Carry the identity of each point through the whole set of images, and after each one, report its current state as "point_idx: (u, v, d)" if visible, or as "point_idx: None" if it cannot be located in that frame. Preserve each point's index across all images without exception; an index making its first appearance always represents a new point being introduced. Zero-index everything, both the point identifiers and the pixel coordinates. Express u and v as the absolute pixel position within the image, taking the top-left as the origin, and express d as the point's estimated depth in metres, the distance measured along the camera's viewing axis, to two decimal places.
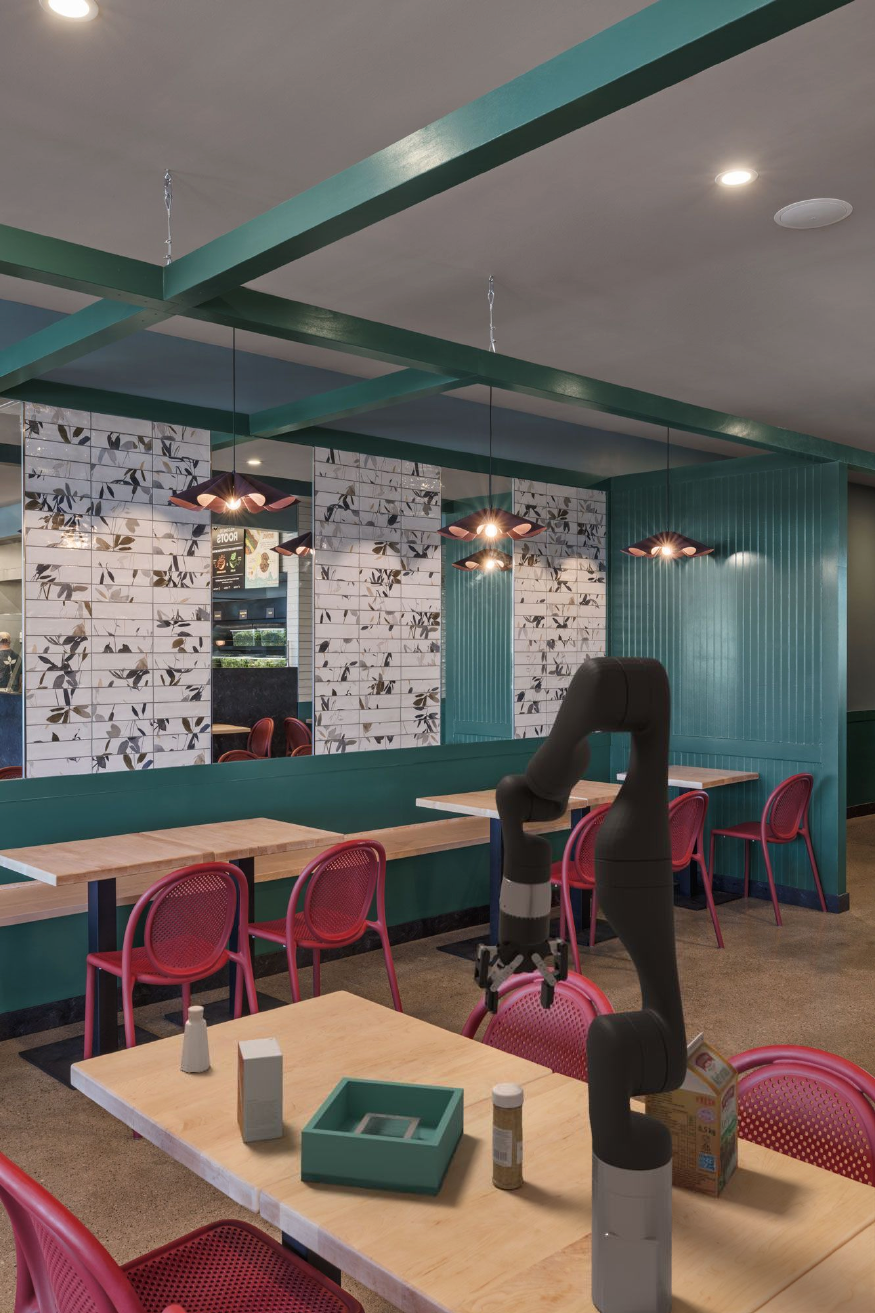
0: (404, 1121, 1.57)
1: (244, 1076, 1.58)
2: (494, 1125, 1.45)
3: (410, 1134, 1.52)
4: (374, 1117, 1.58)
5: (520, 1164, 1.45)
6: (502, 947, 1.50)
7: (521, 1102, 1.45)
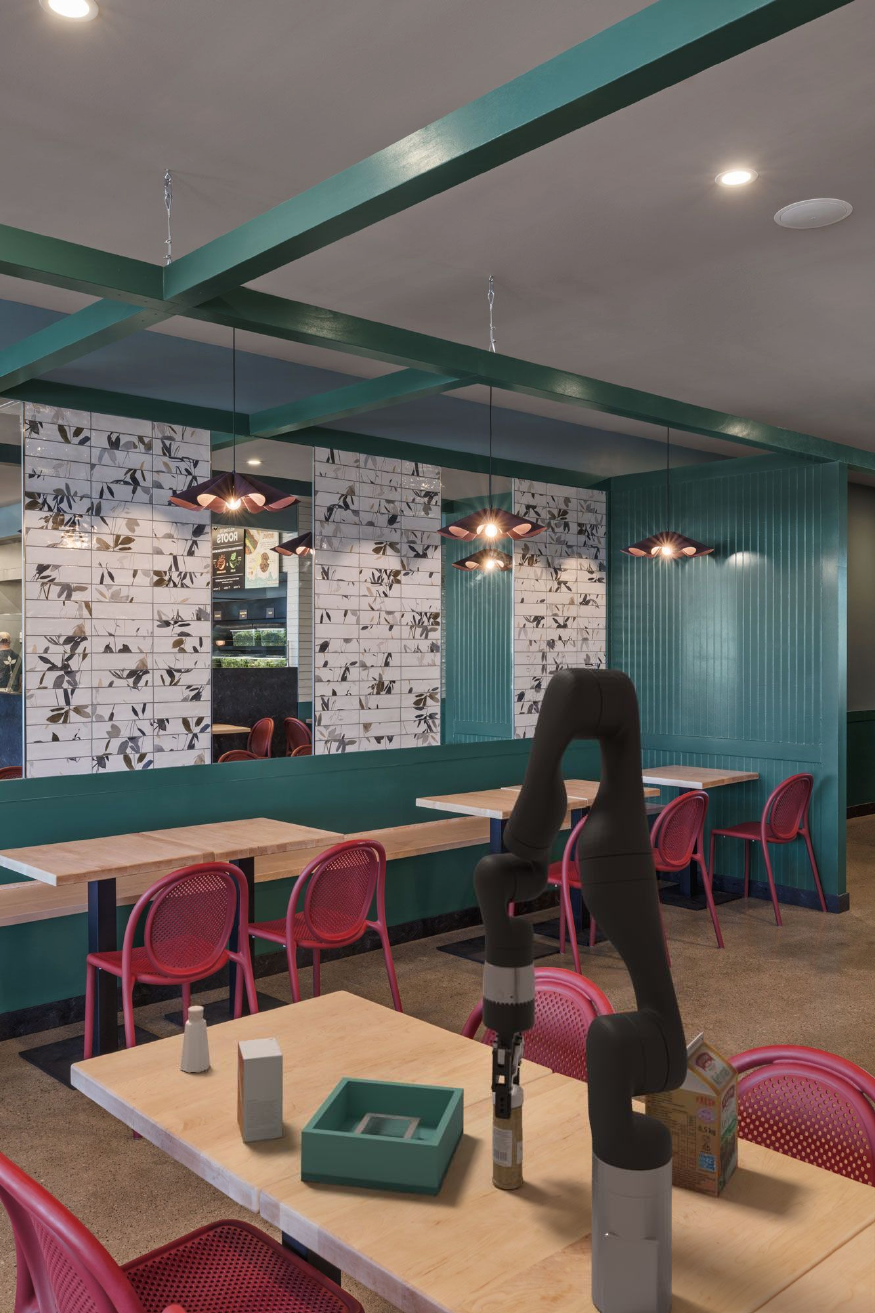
0: (404, 1121, 1.57)
1: (244, 1076, 1.58)
2: (494, 1125, 1.45)
3: (410, 1134, 1.52)
4: (374, 1117, 1.58)
5: (520, 1164, 1.45)
6: (511, 1042, 1.43)
7: (521, 1102, 1.45)
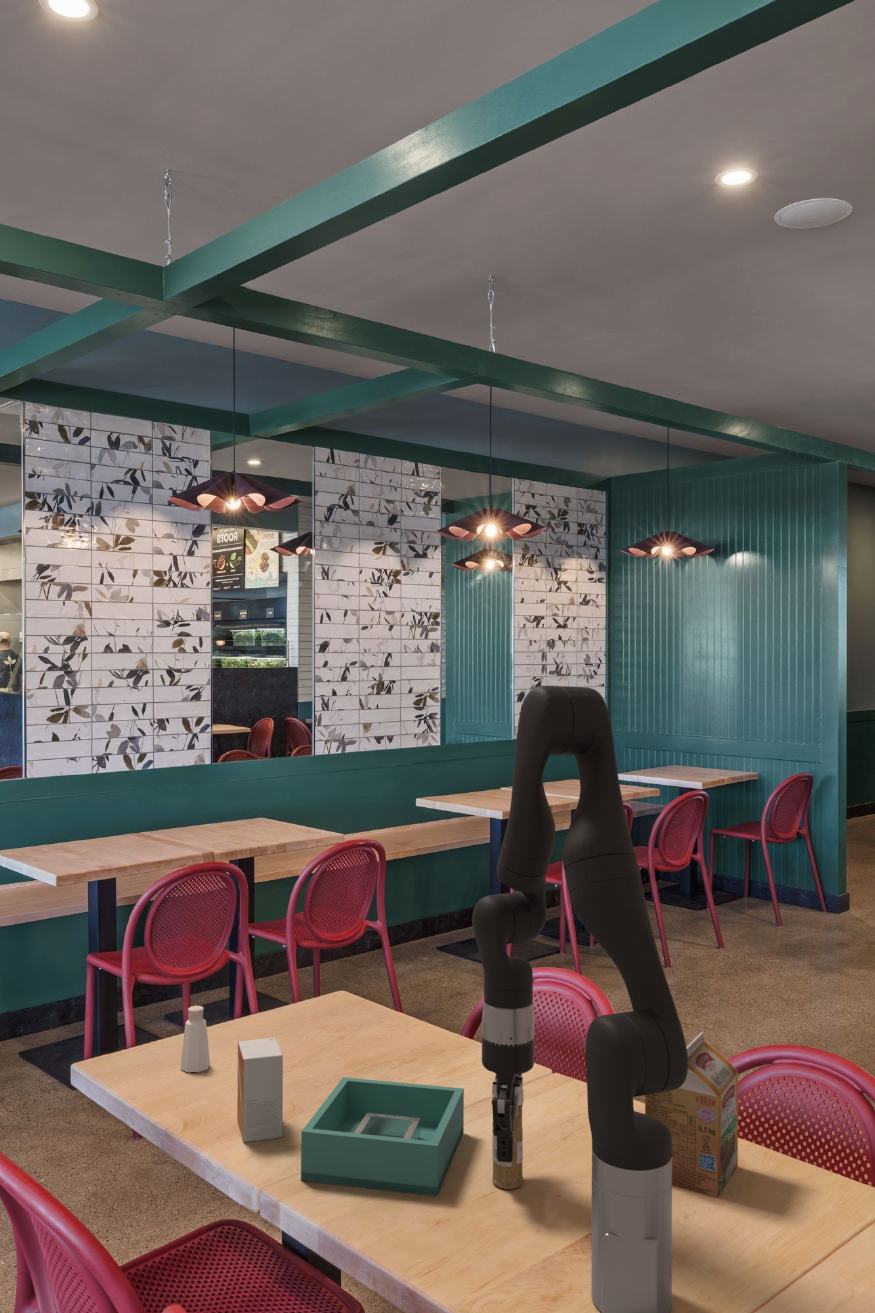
0: (404, 1121, 1.57)
1: (244, 1076, 1.58)
2: None
3: (410, 1134, 1.52)
4: (374, 1117, 1.58)
5: (520, 1164, 1.45)
6: (510, 1086, 1.42)
7: (521, 1102, 1.45)
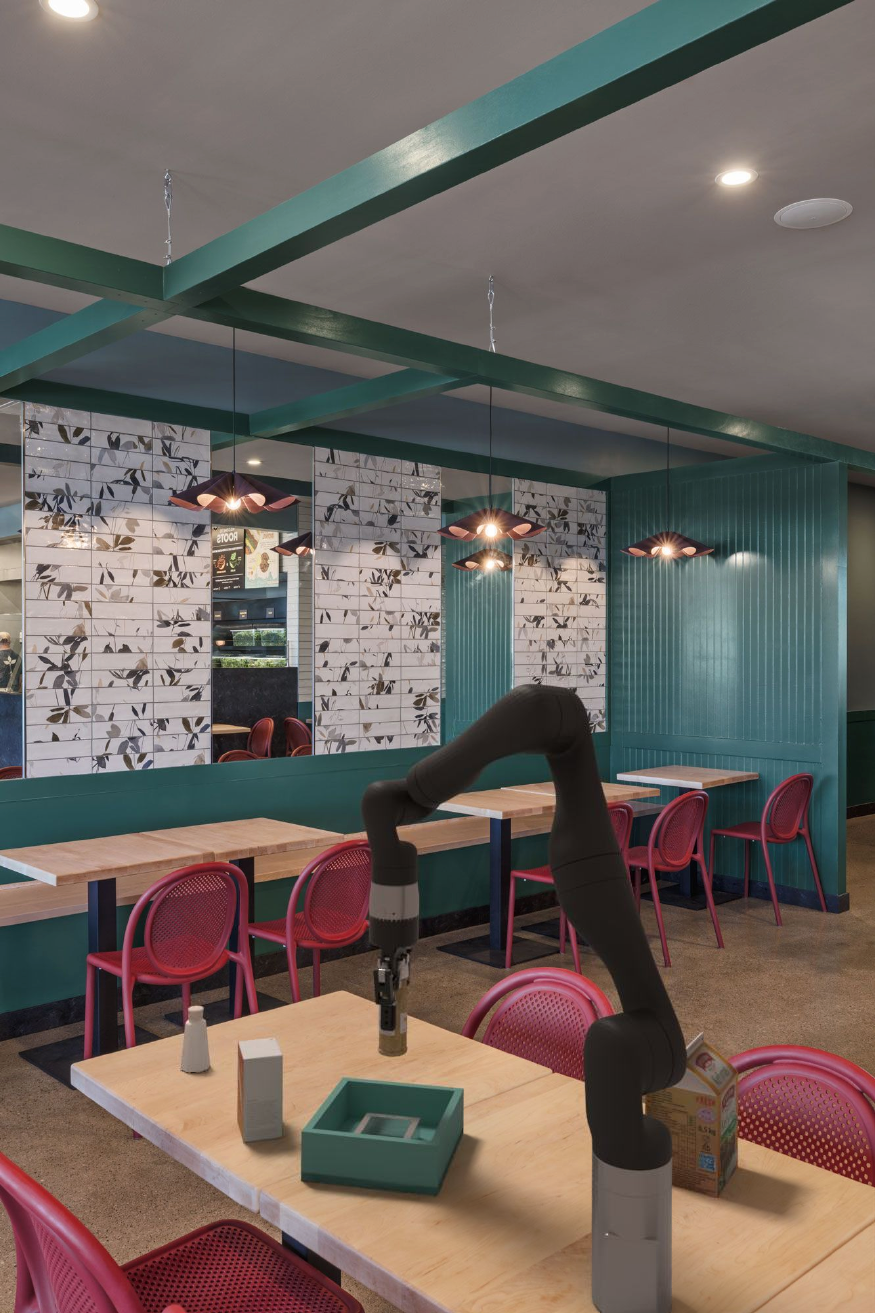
0: (404, 1121, 1.57)
1: (244, 1076, 1.58)
2: None
3: (410, 1134, 1.52)
4: (374, 1117, 1.58)
5: (404, 1034, 1.53)
6: (392, 958, 1.50)
7: (405, 975, 1.53)
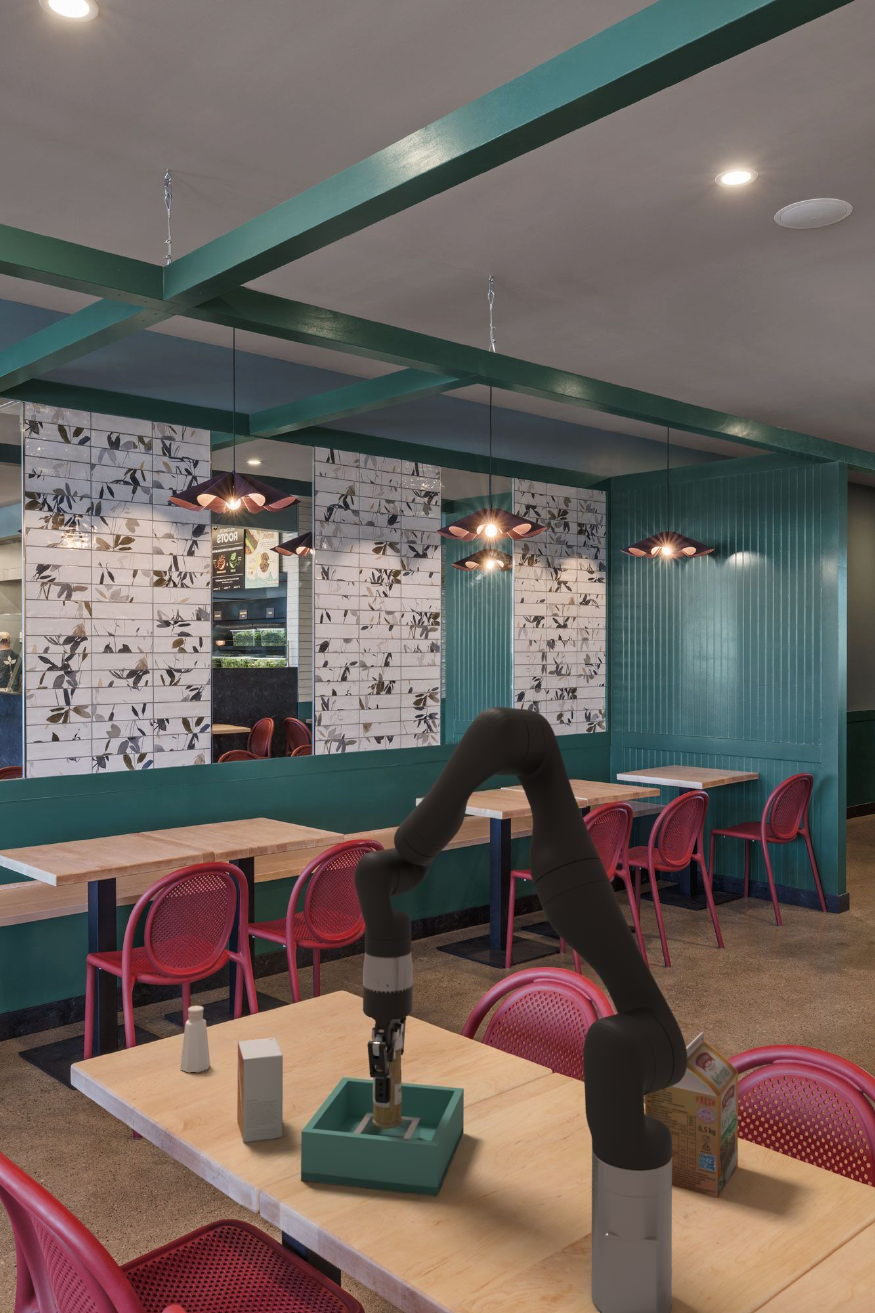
0: (404, 1121, 1.57)
1: (244, 1076, 1.58)
2: None
3: (410, 1134, 1.52)
4: None
5: (398, 1105, 1.53)
6: (387, 1030, 1.50)
7: (399, 1046, 1.53)
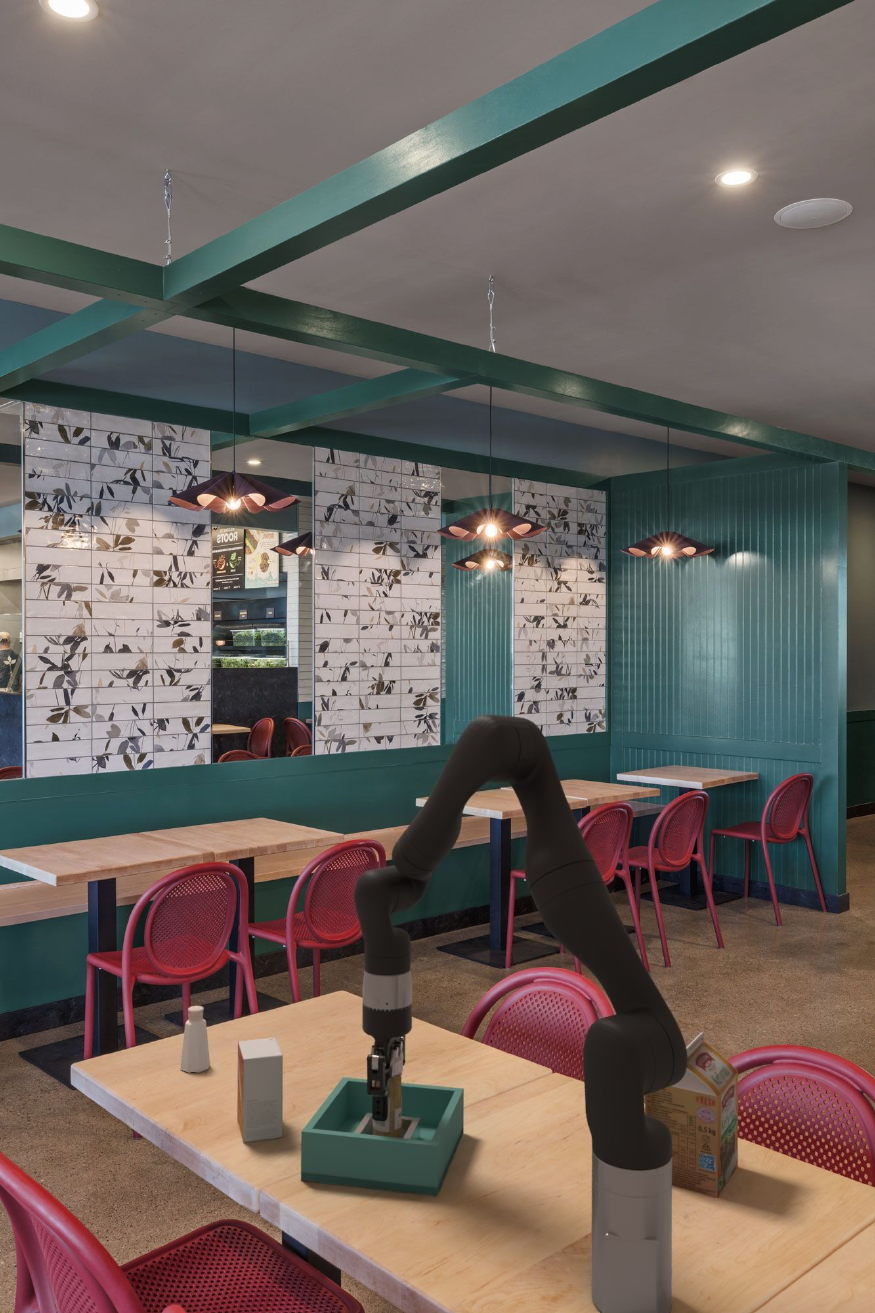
0: (404, 1121, 1.57)
1: (244, 1076, 1.58)
2: None
3: (410, 1134, 1.52)
4: None
5: (398, 1130, 1.52)
6: (386, 1047, 1.50)
7: (399, 1071, 1.53)
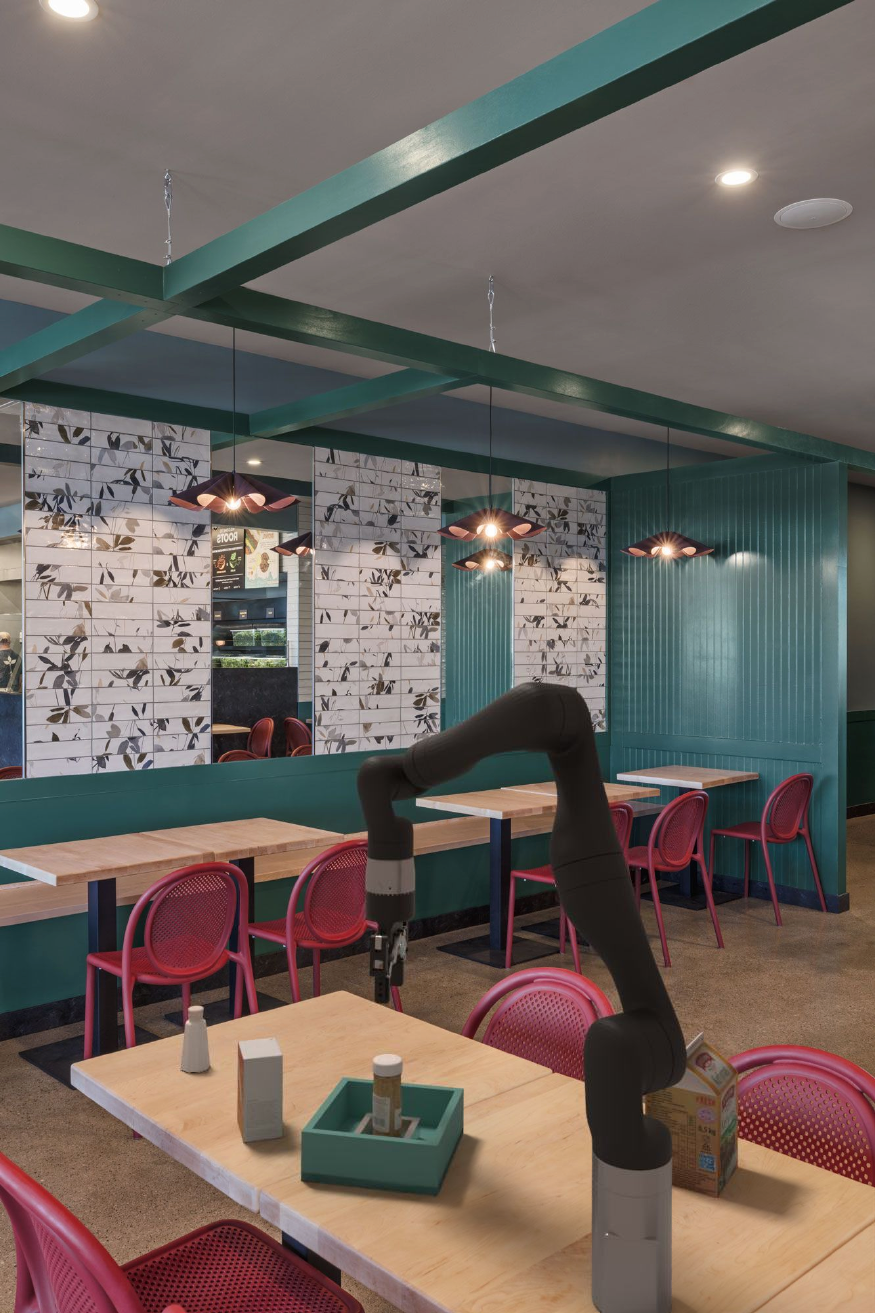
0: (404, 1121, 1.57)
1: (244, 1076, 1.58)
2: (374, 1093, 1.53)
3: (410, 1134, 1.52)
4: None
5: (398, 1130, 1.52)
6: (390, 931, 1.51)
7: (399, 1071, 1.52)
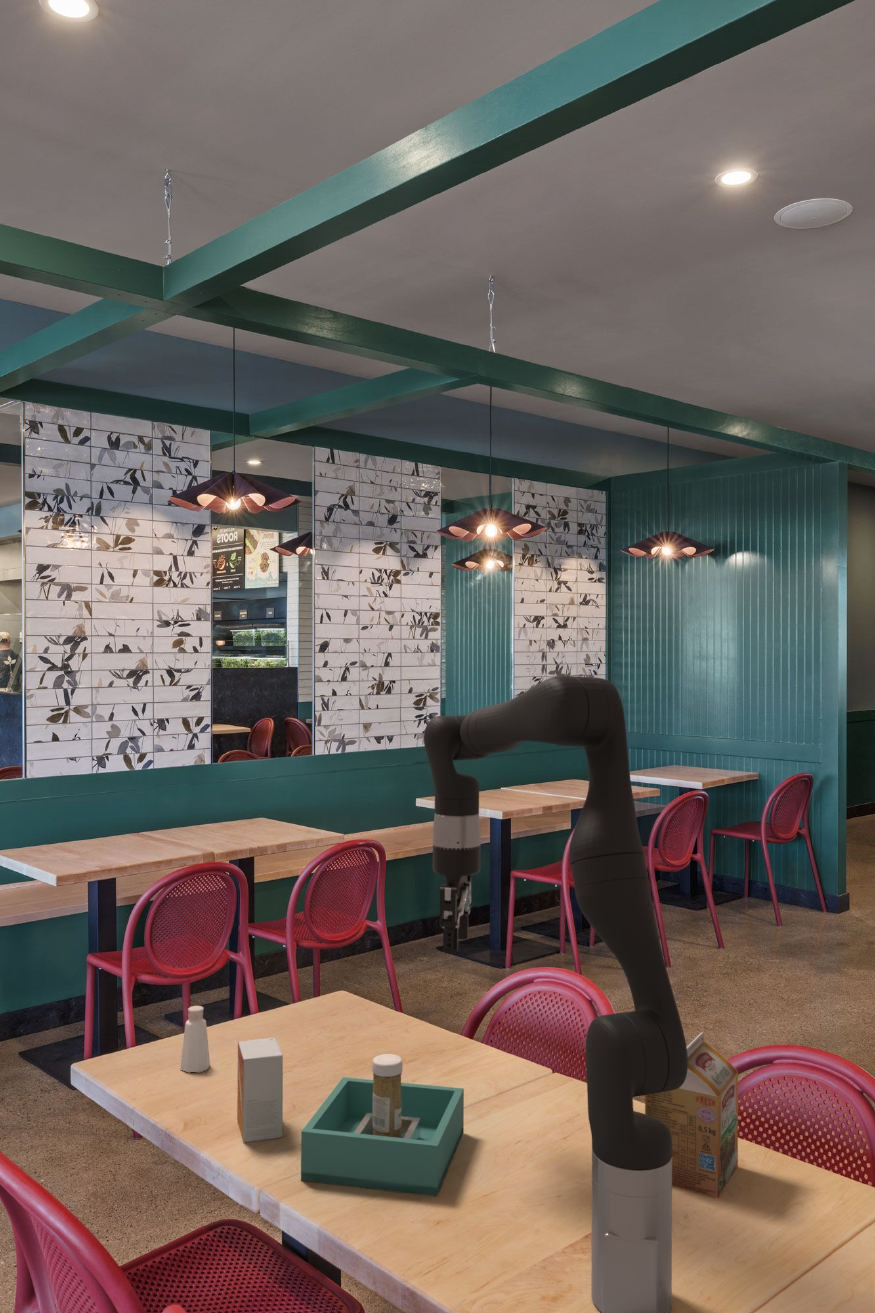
0: (404, 1121, 1.57)
1: (244, 1076, 1.58)
2: (374, 1093, 1.53)
3: (410, 1134, 1.52)
4: None
5: (398, 1130, 1.52)
6: (457, 883, 1.56)
7: (399, 1071, 1.52)
